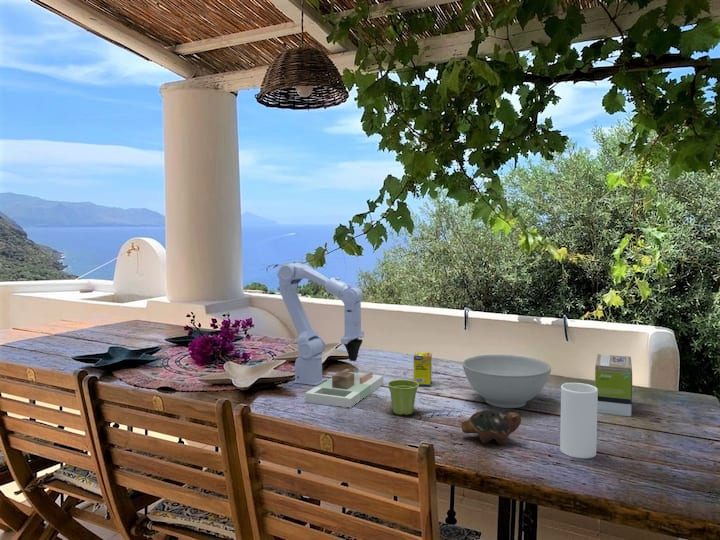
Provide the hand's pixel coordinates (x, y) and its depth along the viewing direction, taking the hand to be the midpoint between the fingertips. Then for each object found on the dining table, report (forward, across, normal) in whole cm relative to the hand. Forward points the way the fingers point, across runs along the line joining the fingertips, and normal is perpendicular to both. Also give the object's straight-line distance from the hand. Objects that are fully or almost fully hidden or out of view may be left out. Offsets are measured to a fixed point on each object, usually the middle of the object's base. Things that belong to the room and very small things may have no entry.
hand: (353, 360), depth 185 cm
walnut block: (+6, -10, -1) cm, 12 cm away
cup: (+9, -28, -74) cm, 80 cm away
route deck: (+9, -7, -1) cm, 12 cm away
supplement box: (+10, +12, -21) cm, 27 cm away
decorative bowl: (+10, +4, -52) cm, 53 cm away
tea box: (+9, +11, -82) cm, 84 cm away
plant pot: (+10, -18, -25) cm, 32 cm away
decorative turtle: (+10, -29, -53) cm, 61 cm away
